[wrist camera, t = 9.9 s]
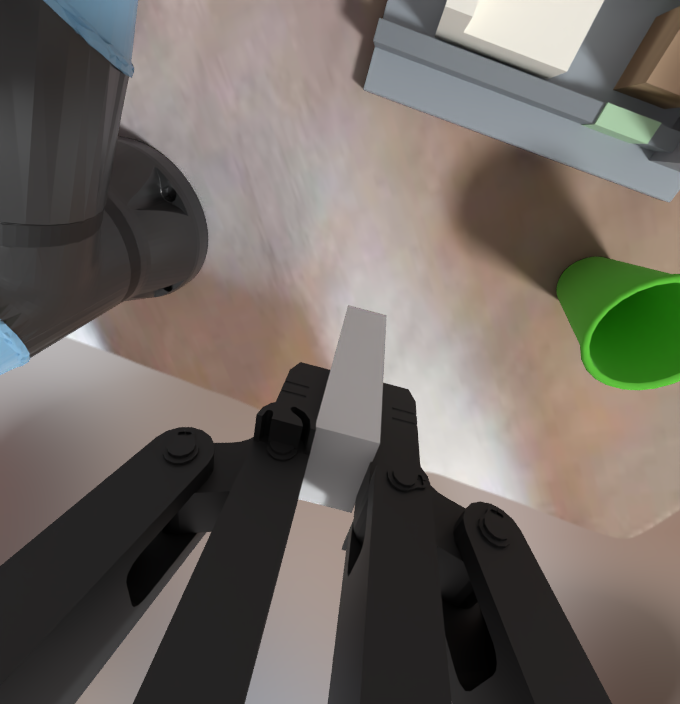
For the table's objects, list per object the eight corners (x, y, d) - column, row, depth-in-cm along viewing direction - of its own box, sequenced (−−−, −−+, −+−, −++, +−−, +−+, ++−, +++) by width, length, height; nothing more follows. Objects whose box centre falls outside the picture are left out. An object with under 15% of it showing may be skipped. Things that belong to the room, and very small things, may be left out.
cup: (533, 246, 33) (586, 290, 23) (649, 222, 30) (759, 261, 21) (532, 331, 37) (577, 397, 28) (634, 316, 34) (720, 382, 25)
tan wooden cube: (613, 89, 25) (646, 82, 22) (656, 17, 23) (700, -4, 20) (664, 109, 25) (704, 105, 22) (711, 38, 23) (764, 21, 20)
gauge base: (364, 90, 28) (353, 76, 21) (442, -192, 21) (463, -355, 14) (660, 200, 29) (741, 219, 22) (836, -33, 22) (1040, -111, 15)
